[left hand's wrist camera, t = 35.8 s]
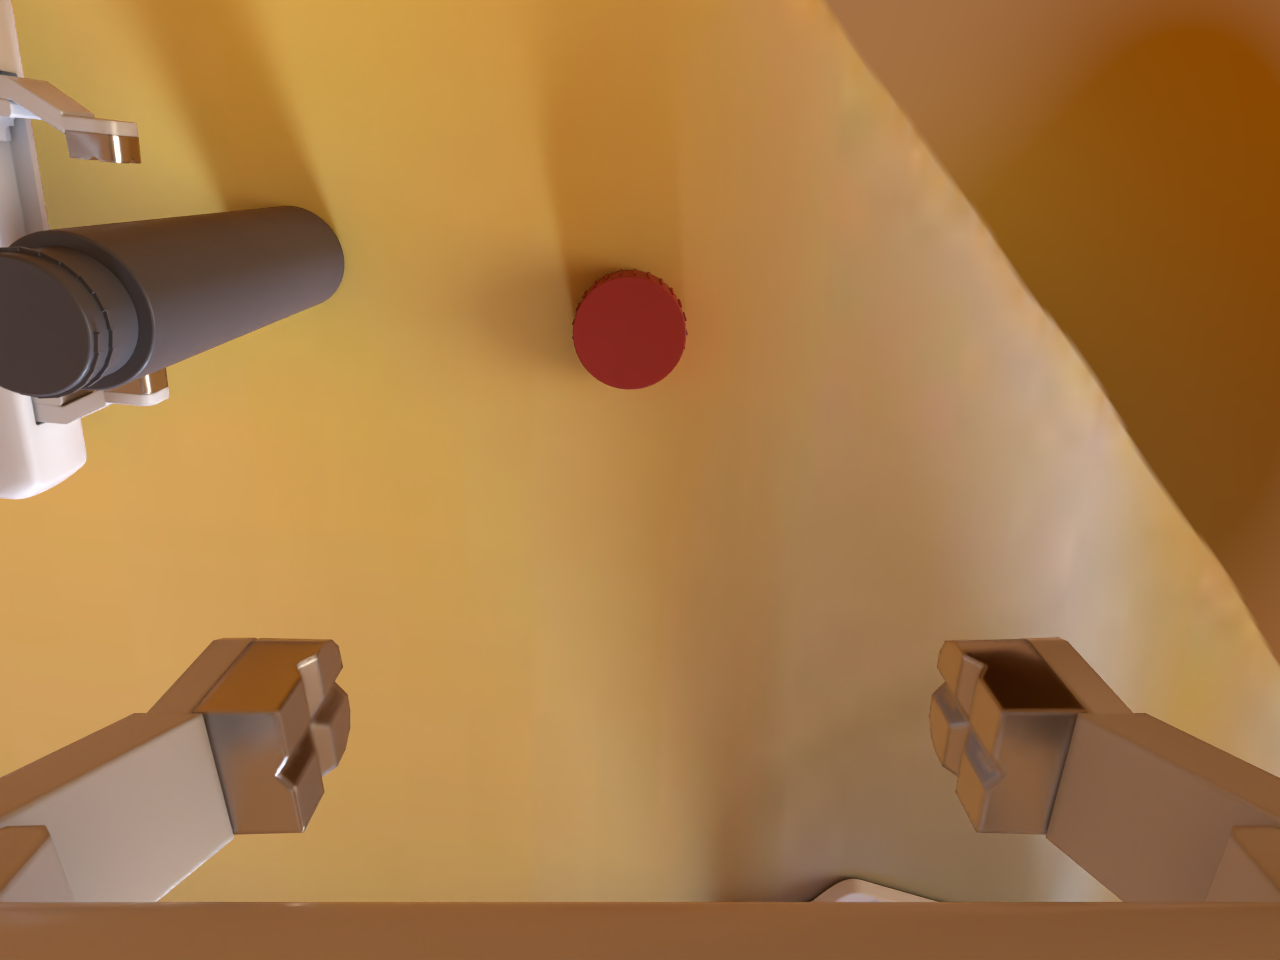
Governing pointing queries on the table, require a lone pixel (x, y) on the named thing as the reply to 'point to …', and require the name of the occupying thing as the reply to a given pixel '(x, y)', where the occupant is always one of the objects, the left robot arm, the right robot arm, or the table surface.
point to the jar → (153, 293)
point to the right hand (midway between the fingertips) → (146, 270)
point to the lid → (629, 330)
